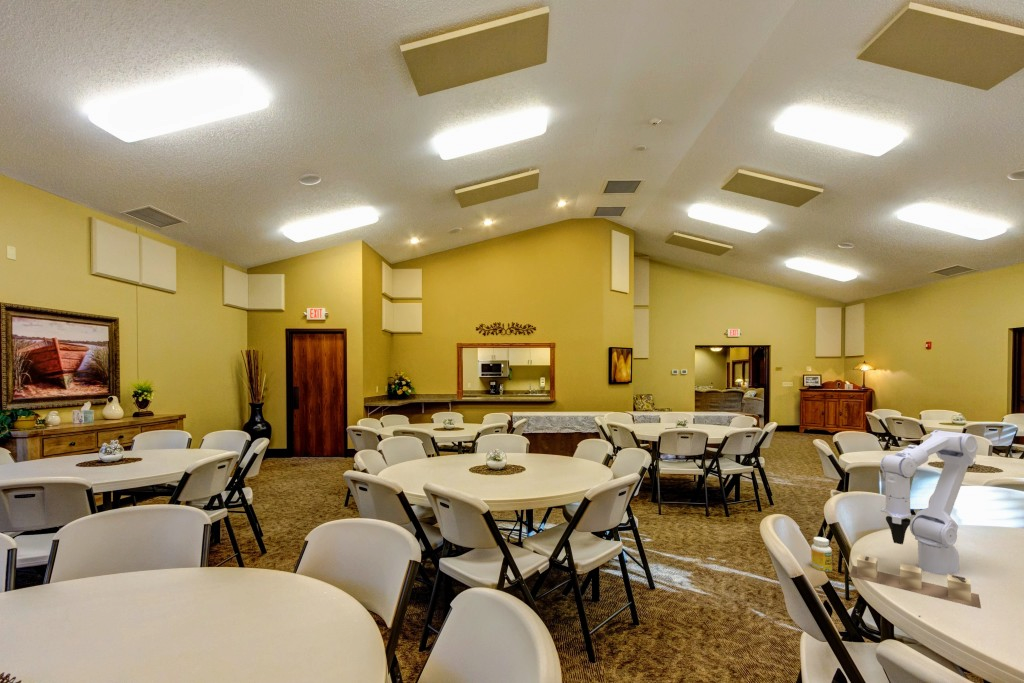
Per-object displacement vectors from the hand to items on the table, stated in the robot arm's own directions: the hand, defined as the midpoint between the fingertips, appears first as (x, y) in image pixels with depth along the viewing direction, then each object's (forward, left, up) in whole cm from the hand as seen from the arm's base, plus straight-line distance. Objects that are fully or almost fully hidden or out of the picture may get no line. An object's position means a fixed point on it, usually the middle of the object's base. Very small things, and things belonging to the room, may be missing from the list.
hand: (898, 543), depth 143 cm
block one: (+9, -2, -9) cm, 13 cm away
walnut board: (+2, +6, -10) cm, 12 cm away
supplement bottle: (+18, -8, -11) cm, 23 cm away
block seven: (-4, +13, -9) cm, 17 cm away
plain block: (+2, +6, -9) cm, 11 cm away
